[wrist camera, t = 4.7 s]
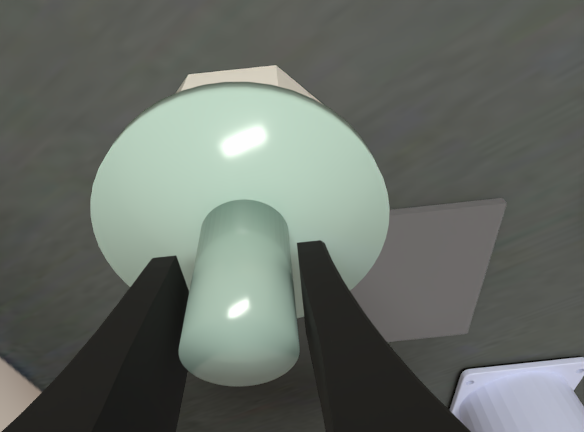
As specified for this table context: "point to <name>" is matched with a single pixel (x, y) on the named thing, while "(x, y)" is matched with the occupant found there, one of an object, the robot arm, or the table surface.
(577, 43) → the table surface
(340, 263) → the lid
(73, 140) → the table surface
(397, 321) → the mat
